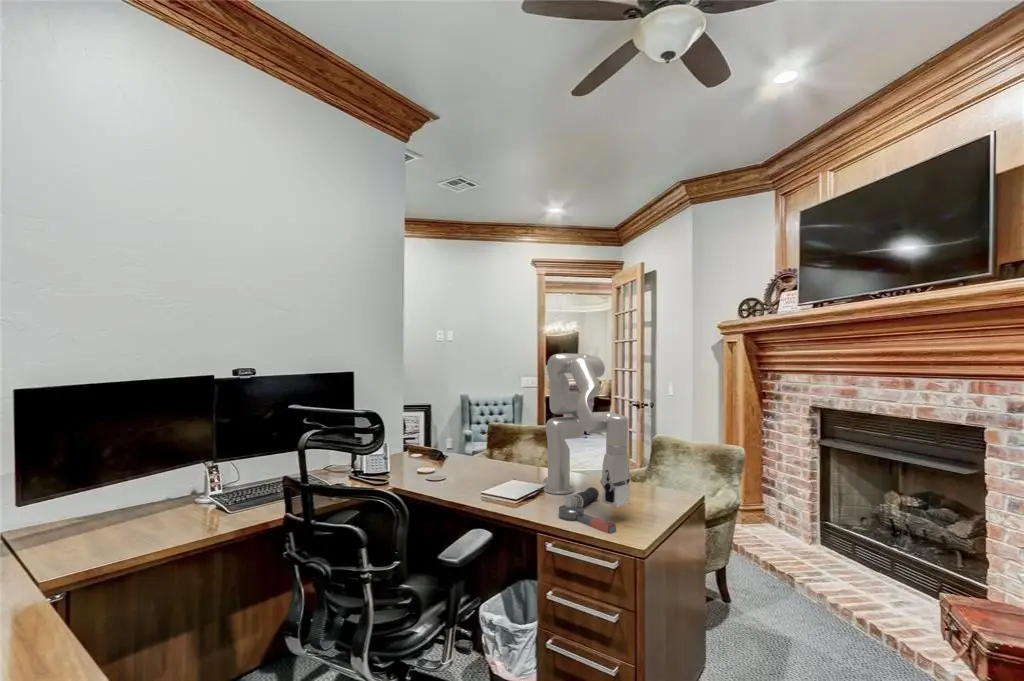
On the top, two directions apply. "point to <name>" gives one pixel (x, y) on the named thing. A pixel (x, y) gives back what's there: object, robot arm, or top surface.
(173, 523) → the top surface
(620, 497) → the socket
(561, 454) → the robot arm
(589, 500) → the flashlight
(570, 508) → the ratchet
